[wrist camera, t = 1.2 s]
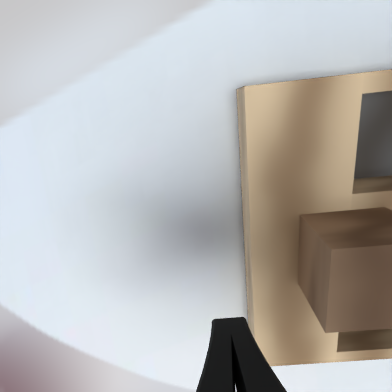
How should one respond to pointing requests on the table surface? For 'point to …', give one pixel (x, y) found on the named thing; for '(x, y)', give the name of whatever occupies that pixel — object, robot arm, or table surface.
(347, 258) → the walnut block
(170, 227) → the table surface
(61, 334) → the table surface
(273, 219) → the board
